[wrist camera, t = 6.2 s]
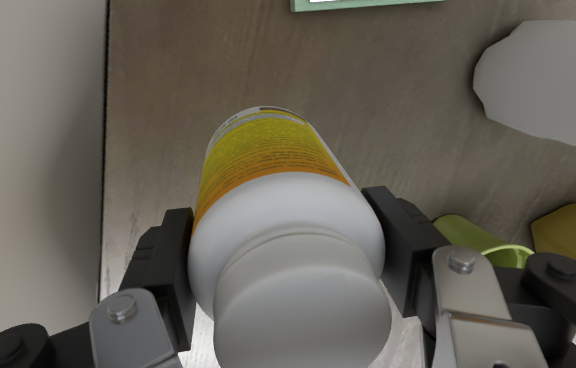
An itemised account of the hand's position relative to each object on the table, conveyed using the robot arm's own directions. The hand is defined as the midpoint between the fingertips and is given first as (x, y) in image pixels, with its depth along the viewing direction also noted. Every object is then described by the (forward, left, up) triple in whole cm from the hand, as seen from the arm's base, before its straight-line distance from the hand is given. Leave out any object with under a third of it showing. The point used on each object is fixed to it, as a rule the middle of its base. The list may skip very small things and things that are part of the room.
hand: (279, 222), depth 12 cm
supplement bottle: (0, 0, -6) cm, 6 cm away
